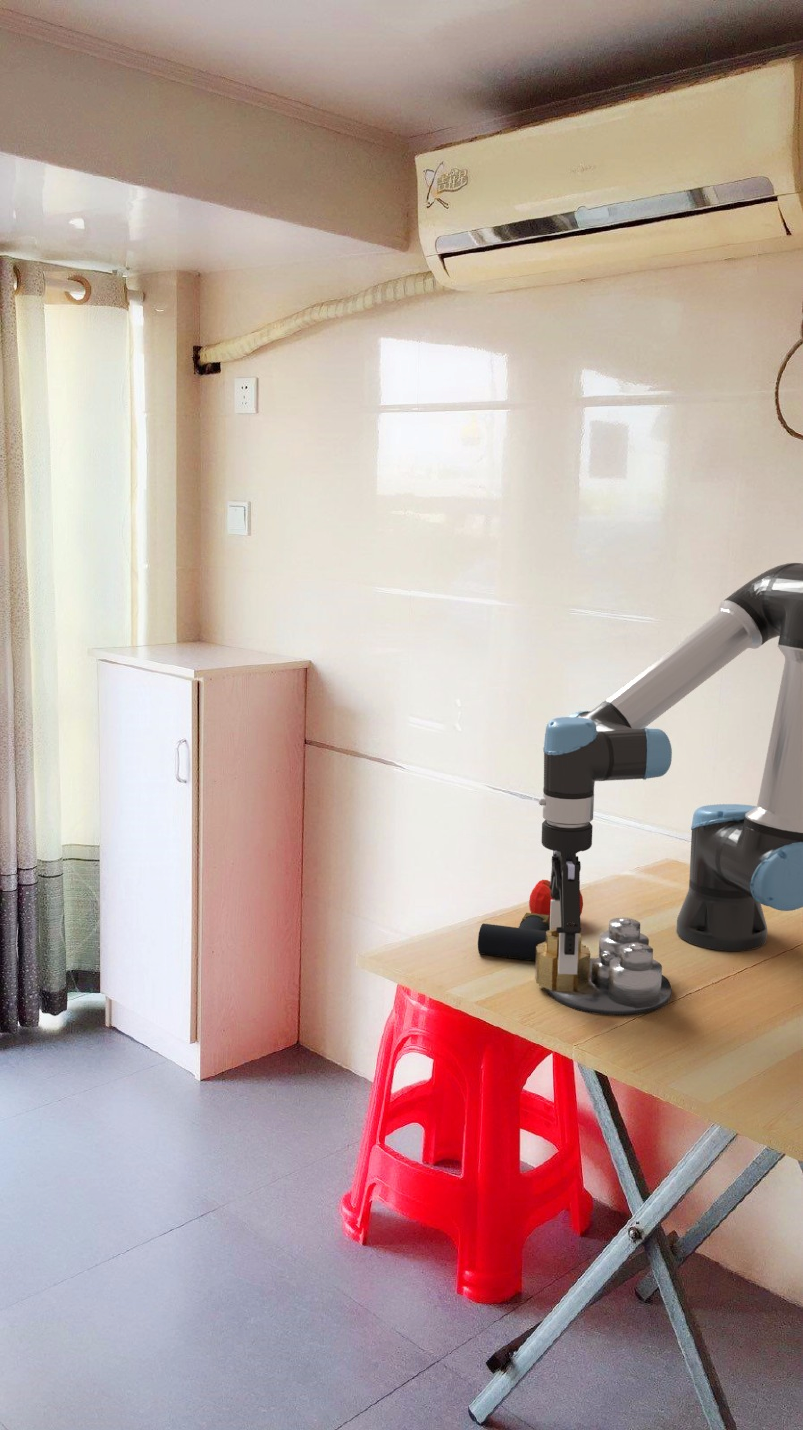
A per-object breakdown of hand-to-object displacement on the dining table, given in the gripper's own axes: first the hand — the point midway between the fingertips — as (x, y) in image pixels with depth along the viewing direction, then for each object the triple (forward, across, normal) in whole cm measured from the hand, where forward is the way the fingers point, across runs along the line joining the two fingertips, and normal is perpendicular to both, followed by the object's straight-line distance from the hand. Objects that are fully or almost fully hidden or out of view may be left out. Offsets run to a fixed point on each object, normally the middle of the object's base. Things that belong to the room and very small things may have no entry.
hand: (562, 956), depth 178 cm
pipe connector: (+6, -16, -4) cm, 17 cm away
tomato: (+5, -29, +2) cm, 30 cm away
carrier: (+5, 0, +7) cm, 9 cm away
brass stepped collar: (+4, 0, 0) cm, 4 cm away
